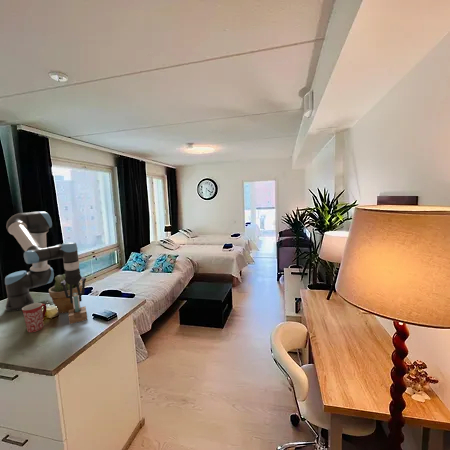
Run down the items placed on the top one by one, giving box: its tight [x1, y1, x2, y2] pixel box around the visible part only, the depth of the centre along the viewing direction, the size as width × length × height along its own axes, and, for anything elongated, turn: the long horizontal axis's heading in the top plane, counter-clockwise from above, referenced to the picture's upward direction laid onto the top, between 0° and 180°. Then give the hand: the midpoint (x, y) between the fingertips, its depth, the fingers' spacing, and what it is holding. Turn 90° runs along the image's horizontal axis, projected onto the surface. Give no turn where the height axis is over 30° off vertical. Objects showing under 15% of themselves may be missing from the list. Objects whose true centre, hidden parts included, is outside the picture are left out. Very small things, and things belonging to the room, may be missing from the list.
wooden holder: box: [68, 305, 88, 325], centre depth 153 cm, size 9×9×5 cm
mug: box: [21, 302, 47, 333], centre depth 144 cm, size 13×9×14 cm
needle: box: [73, 293, 80, 313], centre depth 152 cm, size 2×2×14 cm
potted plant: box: [48, 273, 82, 314], centre depth 165 cm, size 18×19×25 cm
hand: (76, 307), depth 152 cm, fingers closed on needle, 2 cm apart
